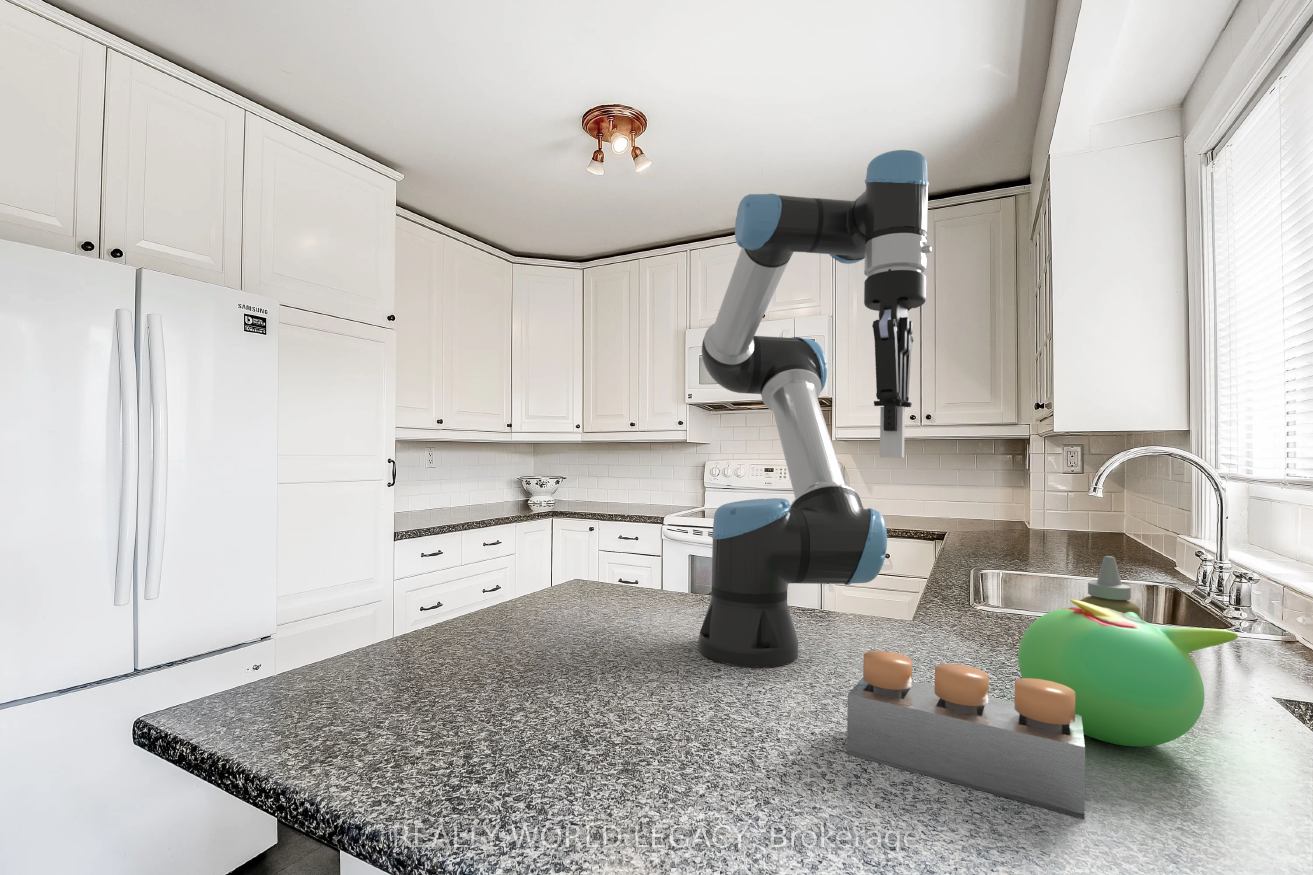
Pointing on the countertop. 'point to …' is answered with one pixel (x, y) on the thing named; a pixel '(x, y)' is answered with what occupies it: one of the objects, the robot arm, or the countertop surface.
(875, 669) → the knob
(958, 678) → the knob middle
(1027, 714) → the knob
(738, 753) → the countertop surface
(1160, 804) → the countertop surface
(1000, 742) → the mount
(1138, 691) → the toy bird
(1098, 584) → the squeeze bottle
